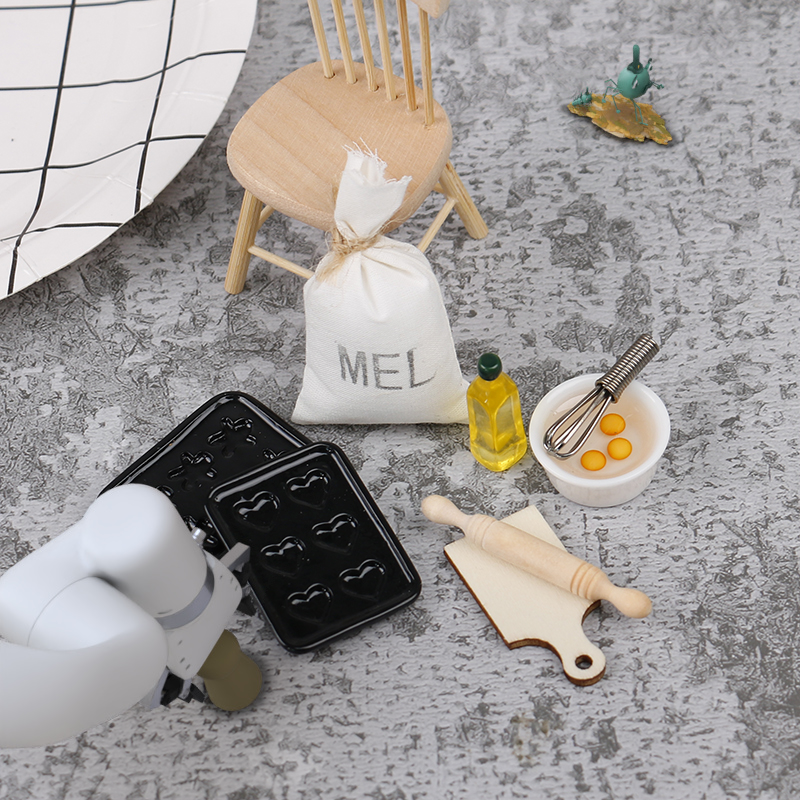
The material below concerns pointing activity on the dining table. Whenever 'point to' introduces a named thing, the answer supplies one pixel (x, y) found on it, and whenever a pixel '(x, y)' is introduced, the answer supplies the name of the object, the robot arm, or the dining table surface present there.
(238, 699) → the cork
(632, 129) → the teal creature figurine
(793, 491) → the dining table surface
